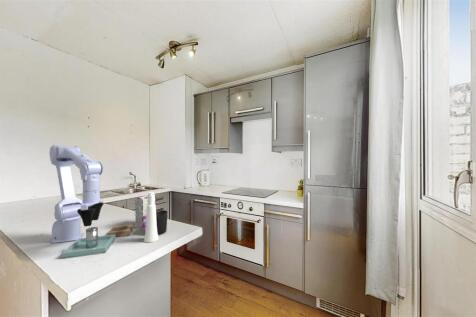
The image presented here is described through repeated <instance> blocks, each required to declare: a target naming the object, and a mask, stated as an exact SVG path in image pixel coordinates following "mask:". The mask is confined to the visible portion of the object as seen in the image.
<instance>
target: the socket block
mask: <svg viewBox="0 0 476 317" xmlns="http://www.w3.org/2000/svg"><path fill="white" fill-rule="evenodd" d="M133 230H134V224H128V225H127V224H126V225H124V224H123V225H116V226H113V227H111V229H110V230H109V231H108V232H107V235H114V234H116V238H123V237H130V236H131V234H132V232H133Z"/></svg>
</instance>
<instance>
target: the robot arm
mask: <svg viewBox="0 0 476 317" xmlns="http://www.w3.org/2000/svg"><path fill="white" fill-rule="evenodd" d="M49 148H50V149H49V154H48V155H49V161H50V164H51V165H52V166H55V168H56V173H57V177H58V178H57V179H58V185H59V189H60V190H59V191H60V195H61V196H60V197H61V200H59V201H58V202H57V203H56V204H54V218H55V221H54V222H53V224H52V226H51V241H50V244H56V243H66V242H73V241H74V242H76V241H77V240H78V239H79V238H82V236H84V235H85V233H84V232H81V220H82V224H83V227H92V224H93V221H99V218H100V213H101V210H102V208H103V206H104V204H105V202H104V200H103V199H101V192H100V191H101V175H102V174H103V172H104V166H103V164H102V163H101V161H94V160H93V159H92V158H90V157H89V155H87V154H84V153H81V149H80V147H79V146H78V145H55V144H52V146H50V147H49ZM73 165H75V166H76V167H77V168H78V169H79V173H80V179H81V181H82V199H80V198H79V197H76V193H75V188H74V182H73V176H72V170H71V166H73Z"/></svg>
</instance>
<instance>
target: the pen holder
mask: <svg viewBox="0 0 476 317" xmlns="http://www.w3.org/2000/svg"><path fill="white" fill-rule="evenodd" d="M156 223H157V233H158V236H160V235H164V234H165V233H166V232H167V230H168V211H167V210H164V209H161V210H158V211H156Z"/></svg>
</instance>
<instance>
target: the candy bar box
mask: <svg viewBox="0 0 476 317" xmlns="http://www.w3.org/2000/svg"><path fill="white" fill-rule="evenodd" d="M134 205H135V206H134V208H135V209H134V213H135V214H134V216H135V220H134V221H135V229H137V228H138V229H140V230H141V229H142V230H143V229H146V213H147V205H148V194H145V195H142V196H138V197H135V198H134Z"/></svg>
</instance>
